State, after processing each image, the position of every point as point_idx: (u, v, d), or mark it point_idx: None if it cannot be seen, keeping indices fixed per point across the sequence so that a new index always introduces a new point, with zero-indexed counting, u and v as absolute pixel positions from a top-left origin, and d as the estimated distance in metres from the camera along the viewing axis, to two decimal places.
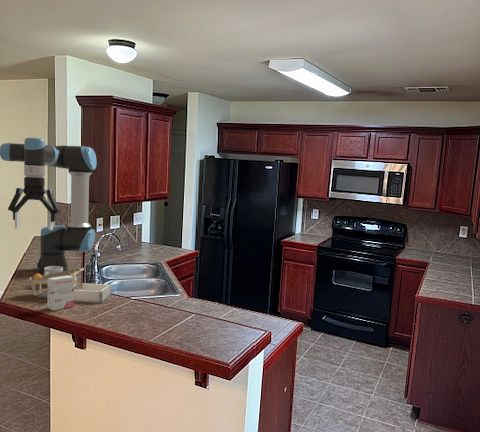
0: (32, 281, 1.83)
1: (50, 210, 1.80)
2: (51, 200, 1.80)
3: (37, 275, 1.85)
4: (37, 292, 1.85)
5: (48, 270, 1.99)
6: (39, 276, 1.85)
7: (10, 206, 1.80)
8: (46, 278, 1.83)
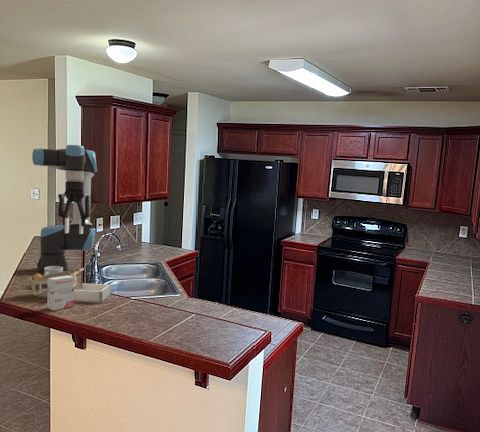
0: (32, 281, 1.83)
1: (82, 215, 1.95)
2: (86, 205, 1.95)
3: (37, 275, 1.85)
4: (37, 292, 1.85)
5: (48, 270, 1.99)
6: (39, 276, 1.85)
7: (59, 212, 1.95)
8: (46, 278, 1.83)
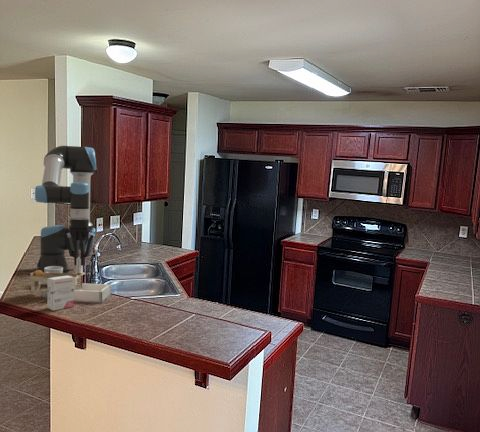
0: (33, 277, 1.83)
1: (82, 254, 1.92)
2: (88, 245, 1.92)
3: (39, 272, 1.85)
4: (35, 288, 1.85)
5: (48, 270, 1.99)
6: (41, 273, 1.85)
7: (70, 252, 1.92)
8: (47, 277, 1.83)
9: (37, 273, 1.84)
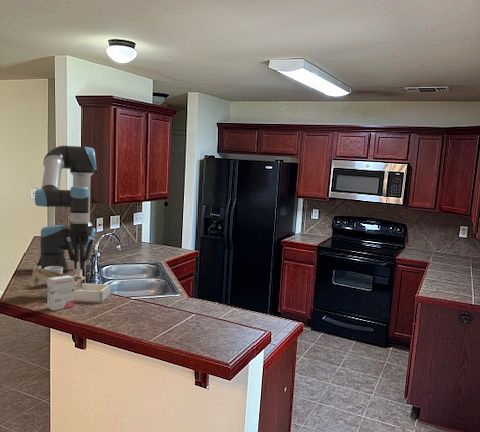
0: (35, 273, 1.83)
1: (81, 258, 1.92)
2: (88, 249, 1.92)
3: None
4: (34, 284, 1.84)
5: (48, 270, 1.99)
6: None
7: (70, 256, 1.92)
8: (49, 277, 1.83)
9: None
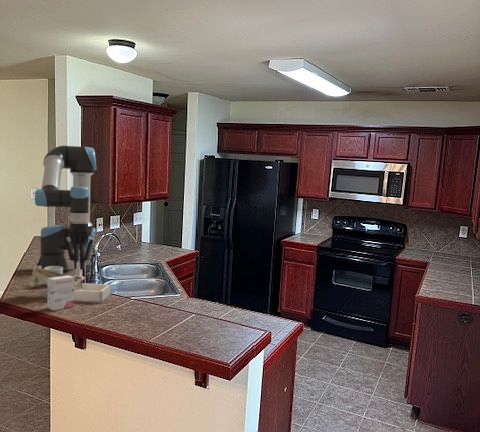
0: (35, 273, 1.83)
1: (81, 258, 1.92)
2: (88, 249, 1.92)
3: None
4: (34, 284, 1.84)
5: None
6: None
7: (70, 256, 1.92)
8: (49, 277, 1.83)
9: None
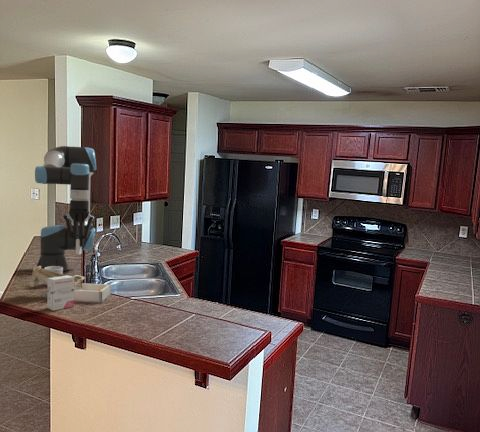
0: (35, 273, 1.83)
1: (81, 235, 1.92)
2: (87, 226, 1.91)
3: None
4: (34, 284, 1.84)
5: None
6: None
7: (70, 233, 1.92)
8: (49, 277, 1.83)
9: None
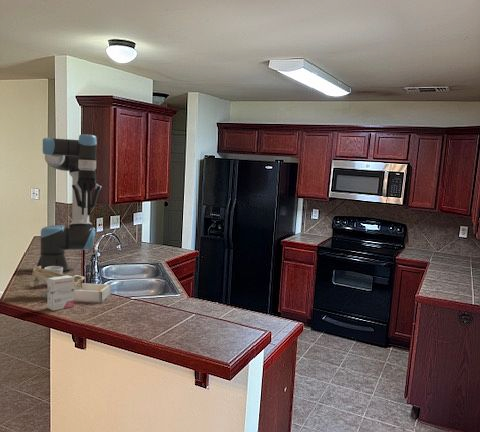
0: (35, 273, 1.83)
1: (88, 204, 1.99)
2: (95, 195, 1.99)
3: None
4: (34, 284, 1.84)
5: None
6: None
7: (78, 202, 1.99)
8: (49, 277, 1.83)
9: None
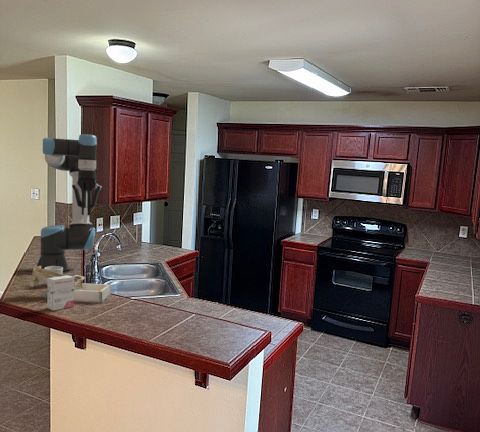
0: (35, 273, 1.83)
1: (88, 204, 1.99)
2: (95, 195, 1.99)
3: None
4: (34, 284, 1.84)
5: None
6: None
7: (78, 202, 1.99)
8: (49, 277, 1.83)
9: None
